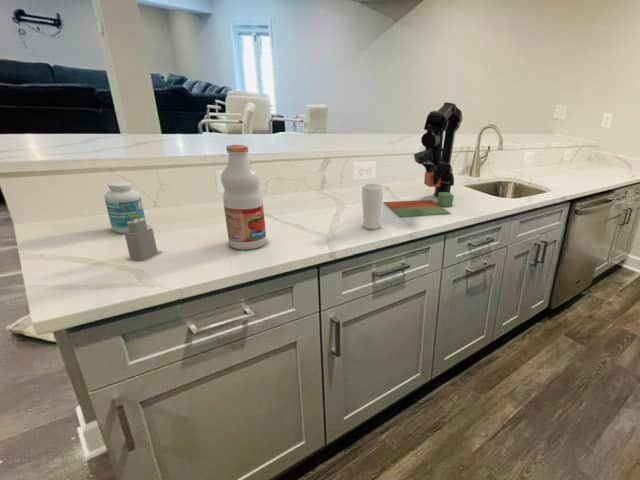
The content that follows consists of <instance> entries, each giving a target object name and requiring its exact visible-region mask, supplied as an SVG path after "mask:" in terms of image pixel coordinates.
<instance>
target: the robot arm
mask: <svg viewBox="0 0 640 480" xmlns="http://www.w3.org/2000/svg"><path fill="white" fill-rule="evenodd" d="M462 122H463V112H462V110H460V108H459V107H457V104H455V102H444V103H443V105H442V106H441V107H440V108H439V109H438V110H431V111H430V112H429V113H428V114H427V117H426V120H425V124H424V127H423V130H424V131H426V132H425V133H424V134H423V135H422V136H421V139H420V142H421V145H422V146H423V147H424V148H425V149H424V150H422V151H419V152H416V153H413V157H414V161H415V163H417V164H419V165H422V166H423V168H424V169H425V172H433V175H434V185H436V184H437V183H438V181H439V179H440V178H441V181H440V187H434V193H433V195H434V196H436V197H437V198H438V193H439V192H449V193H451V187H452V186H454V185H455V177H454V173H453V167H452V164H451V162H452V155H453V149H454V142H455V137H456V132H457V131H458V130H459V129H460V127H461V123H462Z"/></svg>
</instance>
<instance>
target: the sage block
mask: <svg viewBox="0 0 640 480" xmlns="http://www.w3.org/2000/svg"><path fill="white" fill-rule="evenodd" d="M453 203H454V194H453V193H451V192H450V193H449V192H439V193H438V197H437V204H438V205H439V206H441V207H453Z"/></svg>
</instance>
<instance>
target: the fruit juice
mask: <svg viewBox="0 0 640 480" xmlns="http://www.w3.org/2000/svg"><path fill="white" fill-rule="evenodd" d="M225 149H226V153H227V154H228V161H227V165H226V167H225V169H224V170H223V171H222V172H221V175H220V182H221V185H222V187H223V189H224V192H223V194H222V200H223V201H222V202H223V208H224V215H225V216H224V217H225V223H226V224H225V225H226V231H227V232H226V233H227V239H228V244H229V246H230V247H231V248H233V249H236V250H252V249H258V248H260V247H264V245H265V244H266V242H267V230H266V220H265V211H264V210H265V209H264V199H263V195H262V192H261V190H260V187H261V186H260V185H261V177H260V174H259V173H258V172H257V171H256V169H254V167H253V165H252V163H251V162H250V159H249V156H248V154H249V147H248V146H247V145H243V144H229V145H226V148H225Z"/></svg>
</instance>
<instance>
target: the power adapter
mask: <svg viewBox="0 0 640 480" xmlns="http://www.w3.org/2000/svg"><path fill="white" fill-rule="evenodd" d="M137 214H138V218H137V219H134V220H133V217H132V213H130V215H131V221H128V222H127V224H128V228H129V230H128V231H126V232H124V233H123V235H124V237H125V238H124V239H125V243H126V247H127V250H128V254H129V258H130V260H131V261H136V262H141V261H145V260H147V259H150V258H151V257H153V256H155V255H157V254H158V252H159V251H158V247H157V243H156V239H155V234H154V229H153V227H152V226H148V225H147V221H145V220H146V217H145V218H140V216H139V212H138V210H137Z"/></svg>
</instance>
